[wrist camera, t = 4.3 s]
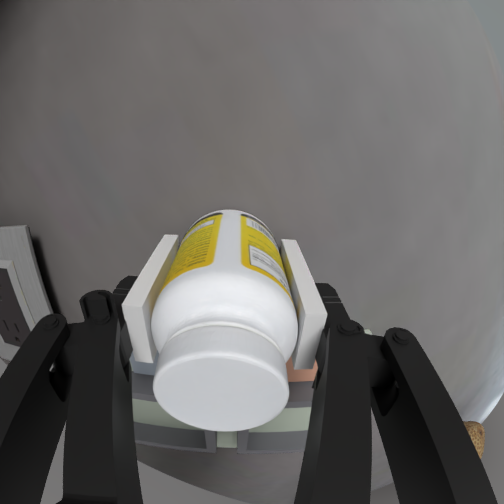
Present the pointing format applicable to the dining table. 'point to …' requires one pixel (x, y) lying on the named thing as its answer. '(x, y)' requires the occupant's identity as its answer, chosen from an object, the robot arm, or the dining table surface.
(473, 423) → the natural sponge
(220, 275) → the supplement bottle
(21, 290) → the electrical outlet
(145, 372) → the tag board
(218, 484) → the dining table surface
